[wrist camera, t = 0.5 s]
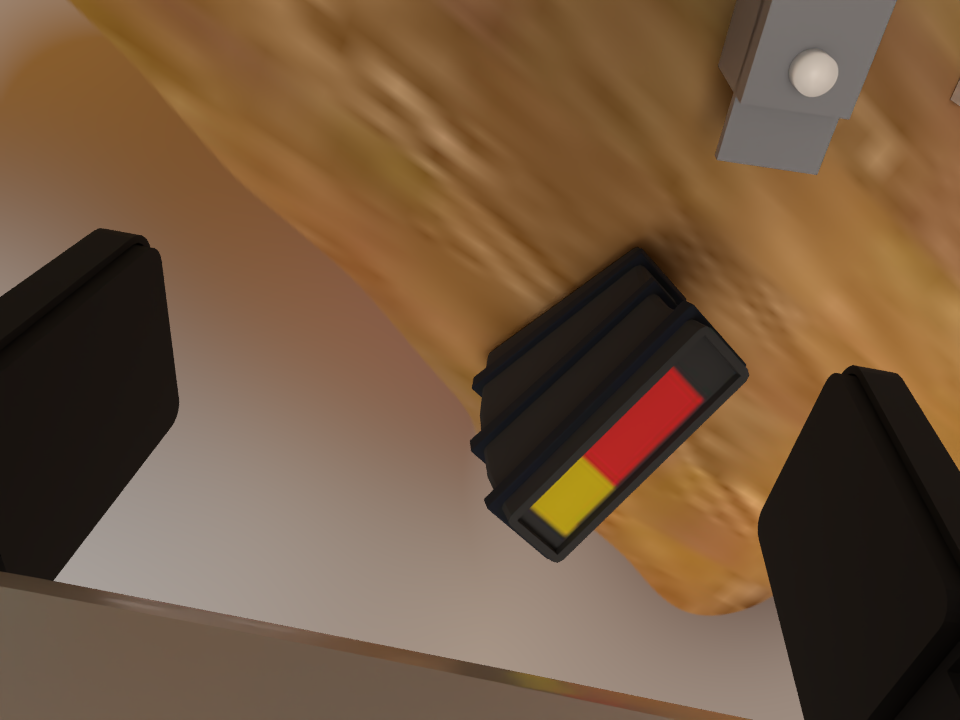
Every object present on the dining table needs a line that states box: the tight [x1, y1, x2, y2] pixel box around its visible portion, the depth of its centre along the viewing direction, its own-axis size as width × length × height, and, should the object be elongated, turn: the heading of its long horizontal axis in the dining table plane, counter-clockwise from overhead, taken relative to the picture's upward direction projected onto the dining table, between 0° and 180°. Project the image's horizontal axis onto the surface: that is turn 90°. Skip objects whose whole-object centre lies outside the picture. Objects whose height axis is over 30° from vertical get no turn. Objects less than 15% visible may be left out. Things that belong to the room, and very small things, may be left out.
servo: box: [715, 0, 897, 175], centre depth 27 cm, size 11×4×7 cm, turn 174°
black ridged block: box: [470, 247, 749, 563], centre depth 35 cm, size 4×13×15 cm, turn 134°
